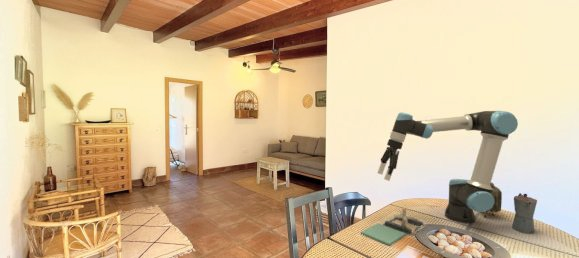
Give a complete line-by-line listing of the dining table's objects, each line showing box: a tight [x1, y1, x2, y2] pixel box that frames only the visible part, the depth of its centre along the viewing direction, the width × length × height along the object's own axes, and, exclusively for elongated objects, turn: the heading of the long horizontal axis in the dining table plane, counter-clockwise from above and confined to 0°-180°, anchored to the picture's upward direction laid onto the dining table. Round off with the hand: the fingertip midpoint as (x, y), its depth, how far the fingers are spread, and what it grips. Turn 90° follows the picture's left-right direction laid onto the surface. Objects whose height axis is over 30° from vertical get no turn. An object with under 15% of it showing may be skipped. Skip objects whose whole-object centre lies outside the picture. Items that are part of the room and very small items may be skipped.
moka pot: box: [511, 193, 538, 235], centre depth 138 cm, size 10×15×20 cm, turn 160°
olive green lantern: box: [483, 181, 503, 218], centre depth 157 cm, size 14×9×25 cm, turn 153°
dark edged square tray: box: [382, 217, 424, 237], centre depth 144 cm, size 18×17×2 cm
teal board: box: [360, 223, 407, 247], centre depth 134 cm, size 16×16×1 cm
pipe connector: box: [393, 207, 415, 227], centre depth 143 cm, size 10×10×10 cm
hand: (383, 176), depth 143 cm, fingers open, 13 cm apart
